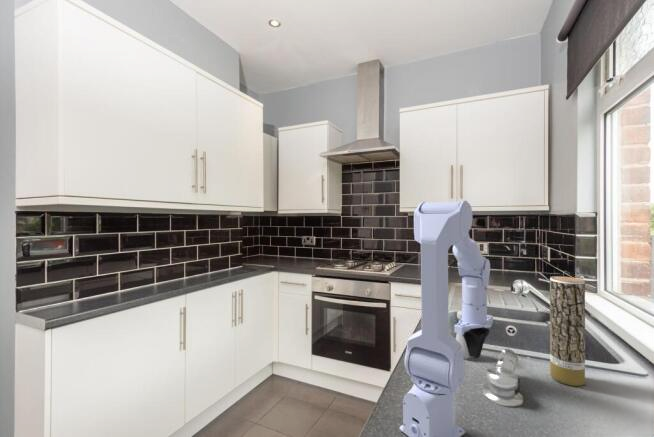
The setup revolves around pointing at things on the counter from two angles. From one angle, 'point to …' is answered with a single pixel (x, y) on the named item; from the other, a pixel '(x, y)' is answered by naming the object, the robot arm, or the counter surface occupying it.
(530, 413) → the counter surface
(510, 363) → the elbow
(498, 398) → the duct stub
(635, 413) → the counter surface
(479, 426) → the counter surface
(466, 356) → the salt shaker
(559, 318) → the paper tube
